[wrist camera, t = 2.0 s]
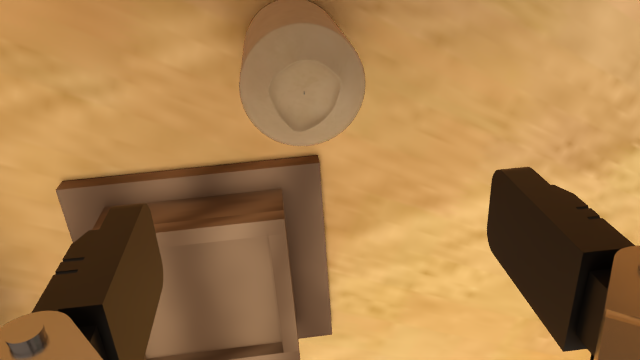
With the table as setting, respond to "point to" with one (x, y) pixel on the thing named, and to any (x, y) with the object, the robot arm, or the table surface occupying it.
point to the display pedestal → (225, 254)
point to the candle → (299, 74)
